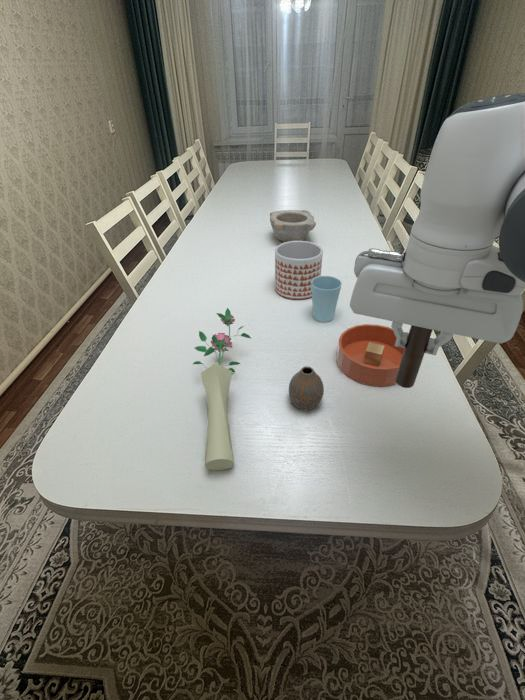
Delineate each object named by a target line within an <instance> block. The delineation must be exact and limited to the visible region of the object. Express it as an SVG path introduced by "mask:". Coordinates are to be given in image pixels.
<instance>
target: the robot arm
mask: <svg viewBox="0 0 525 700" xmlns="http://www.w3.org/2000/svg"><path fill="white" fill-rule="evenodd" d="M419 195H420V207H419V211H418V214H417V217H416V219H415V220H414V223H413V224H412V227H411V229H410V234H409V237H408V242H407V245H406V250H405V252H403V251H396V250H382V249H380V248H369V249H368V250H365V251H362V252H360V253H359V254H357V256H356V258H355V261H354V267H353V273H354V276H355V278H356V281H355V284H354V287H353V290H352V292H351V297H350V301H349V308H350V309H351V311H352V313H354V314H356V315H361V316H364V317H365V316H366V317H369V318H375V319H380V320H385V321H390V322H391V325H390V328H392V329H393V332H394V334H395V336H396V337H397V338H396V342H395V346H396V347H400V348H405V346H406V343H407V339H408V334H409V332H405V331H404V330H403V325H408V326H411V325H413V326H418V327H422V328H427V329H432V331H437V332H440V334H438V336H436V337H435V338H434V337H430V339H429V342H428V344H427V348H426V350H425V354H427V355H431V356H437V354H438V351H439V348H441V347H442V346H444V345H445V344H447V343H448V342H450V341H451V340H452V339H453V337H454V335H457V336H462V337H466V338H471V339H476V340H480V341H485V342H486V341H487V342H490V343H495V344H504V343H506V342H508V341H510V340H512V338H513V337H514V336H515V333H516V331H517V329H518V326H519V324H520V320H521V318H522V315H523V311H524V301H523V297H522V296H523V295H522V294H523V292H524V291H525V92H517V93H508V94H501V95H495V96H490V97H485V98H484V97H483V98H480V99H477V100H472V101H470V102H467V103H465V104H463V105H462V106H459V107H458V108H456V109H455V110H454V111H453V112H451V114H449V116H447V118H446V119H445V120H444V121H443V123H442V125H441V126H440V128H439V131H438V134H437V135H436V138H435V141H434V143H433V146H432V149H431V151H430V155H429V160H428V162H427V165H426V169H425V171H424V177H423V181H422V184H421V189H420V194H419ZM496 238H498V246H495V245H494V243H495V240H496Z"/></svg>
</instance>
